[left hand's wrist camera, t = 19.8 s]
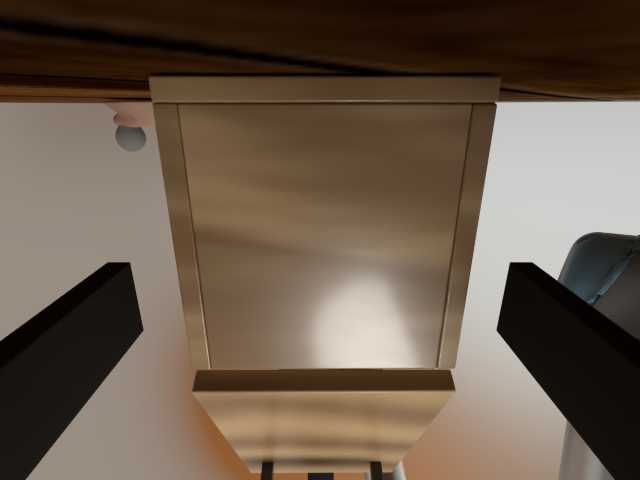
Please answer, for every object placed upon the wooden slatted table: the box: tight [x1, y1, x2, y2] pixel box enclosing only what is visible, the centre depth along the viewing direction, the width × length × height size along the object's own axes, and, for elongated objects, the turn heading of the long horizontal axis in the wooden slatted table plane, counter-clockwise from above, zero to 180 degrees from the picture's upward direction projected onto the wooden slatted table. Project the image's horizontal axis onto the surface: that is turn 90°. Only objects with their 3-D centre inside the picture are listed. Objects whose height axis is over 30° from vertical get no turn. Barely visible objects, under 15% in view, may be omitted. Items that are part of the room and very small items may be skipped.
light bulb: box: [116, 125, 146, 151], centre depth 79 cm, size 6×6×10 cm
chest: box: [149, 75, 501, 370], centre depth 19 cm, size 15×10×10 cm, turn 0°
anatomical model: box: [104, 101, 155, 127], centre depth 45 cm, size 13×4×12 cm
